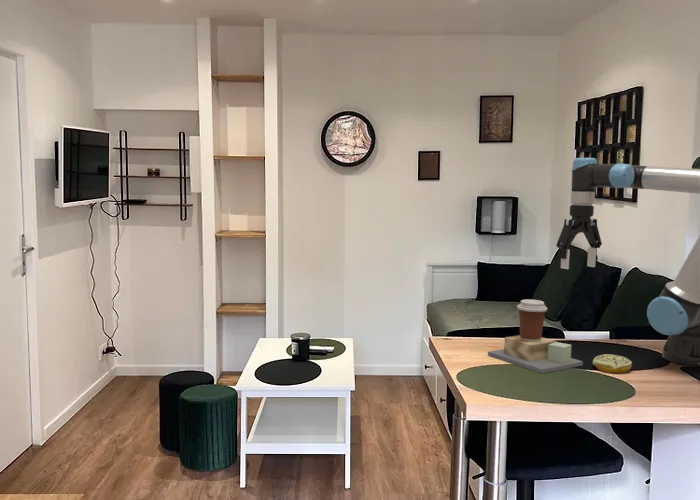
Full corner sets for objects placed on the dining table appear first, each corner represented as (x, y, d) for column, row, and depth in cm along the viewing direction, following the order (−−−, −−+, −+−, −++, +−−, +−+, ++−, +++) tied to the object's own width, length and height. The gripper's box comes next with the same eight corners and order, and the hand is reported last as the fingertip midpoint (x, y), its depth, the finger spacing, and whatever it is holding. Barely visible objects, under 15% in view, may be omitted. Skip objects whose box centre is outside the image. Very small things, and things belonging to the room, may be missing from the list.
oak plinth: (555, 357, 204) (556, 341, 203) (530, 361, 198) (531, 345, 197) (528, 348, 213) (529, 333, 212) (503, 352, 207) (504, 337, 207)
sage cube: (570, 360, 200) (571, 344, 199) (563, 364, 196) (564, 347, 195) (554, 357, 203) (555, 341, 202) (547, 360, 199) (548, 344, 199)
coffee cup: (535, 344, 199) (537, 305, 197) (509, 338, 205) (511, 300, 204) (551, 340, 205) (553, 302, 203) (525, 334, 211) (527, 297, 210)
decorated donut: (585, 368, 197) (586, 356, 197) (605, 362, 204) (606, 351, 204) (618, 376, 189) (619, 364, 189) (637, 370, 196) (638, 358, 195)
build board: (582, 365, 200) (582, 361, 199) (542, 373, 190) (542, 369, 190) (527, 348, 218) (527, 345, 218) (487, 355, 208) (487, 351, 208)
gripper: (596, 204, 229) (592, 264, 231) (547, 204, 216) (544, 268, 218) (615, 205, 223) (611, 267, 225) (566, 205, 209) (562, 271, 212)
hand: (578, 267), depth 221 cm, fingers open, 13 cm apart
